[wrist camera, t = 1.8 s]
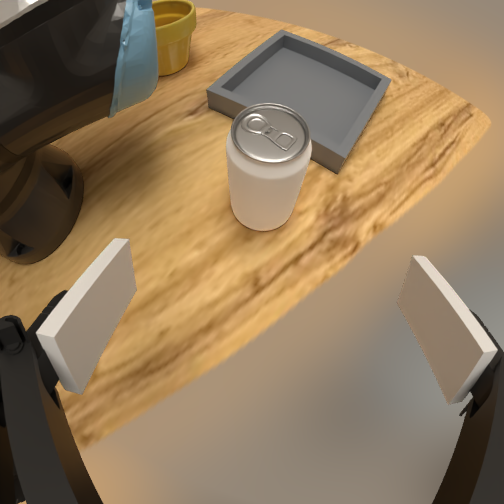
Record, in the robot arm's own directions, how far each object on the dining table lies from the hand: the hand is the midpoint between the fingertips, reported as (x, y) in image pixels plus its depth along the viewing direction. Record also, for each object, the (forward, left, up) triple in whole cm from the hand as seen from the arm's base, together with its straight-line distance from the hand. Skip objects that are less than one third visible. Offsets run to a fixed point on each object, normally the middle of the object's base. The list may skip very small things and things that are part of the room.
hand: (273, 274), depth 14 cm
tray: (-10, +26, -16) cm, 32 cm away
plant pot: (-31, +22, -16) cm, 41 cm away
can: (-6, +9, -16) cm, 19 cm away
